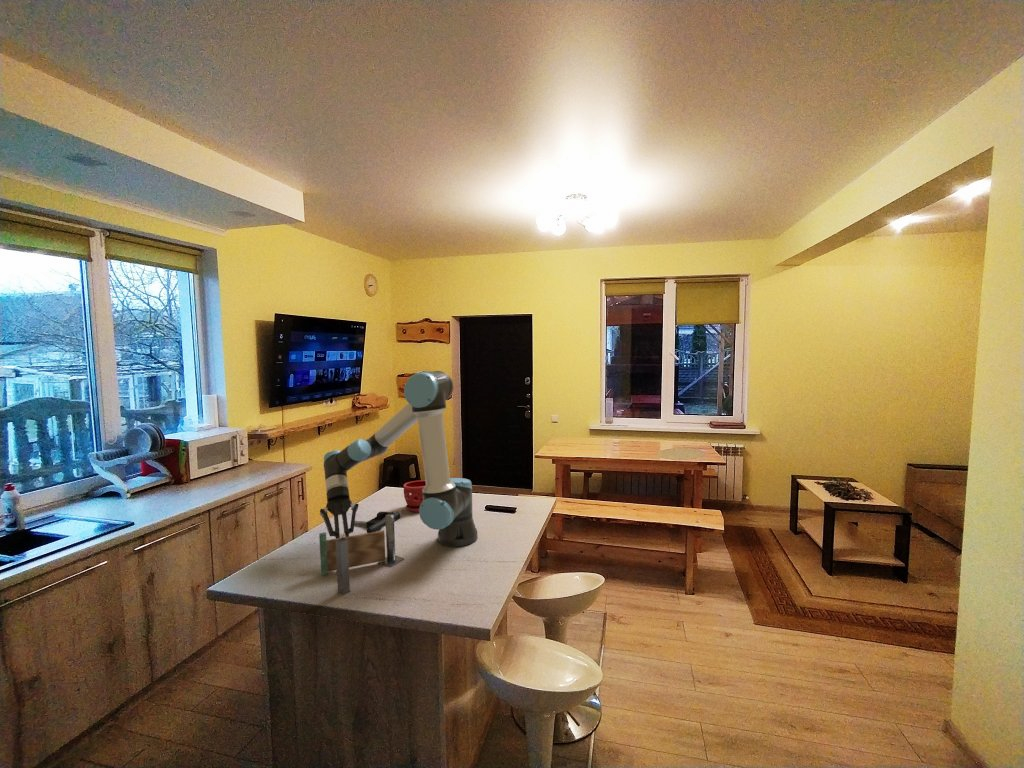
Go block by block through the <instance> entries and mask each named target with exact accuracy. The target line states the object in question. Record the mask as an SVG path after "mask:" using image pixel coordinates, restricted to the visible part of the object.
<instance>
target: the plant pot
mask: <svg viewBox="0 0 1024 768" xmlns="http://www.w3.org/2000/svg"><path fill="white" fill-rule="evenodd" d="M425 485H426V480H422V479H421V480H414V481H412V480H411V481H408V482H405V483H404V484H403V496H404V500H405V503H406V506H405V508H406V510H408V511H409V512H412V513H419V508H420V505H421V503H422V502H423V492H422V489H423V488H424V487H425Z"/></svg>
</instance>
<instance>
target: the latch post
mask: <svg viewBox="0 0 1024 768" xmlns="http://www.w3.org/2000/svg"><path fill="white" fill-rule="evenodd" d="M336 563H337V570H336V579H337V580H336V581H337V594H340V595H341V594H342V595H341V596H344V595H346V594H348V593H350V592H351V591H350V590H351V588H350V587H351V586H350V585H351V584H350V568H349V558H348V539H346V538H340V539H338V540H336Z"/></svg>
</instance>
